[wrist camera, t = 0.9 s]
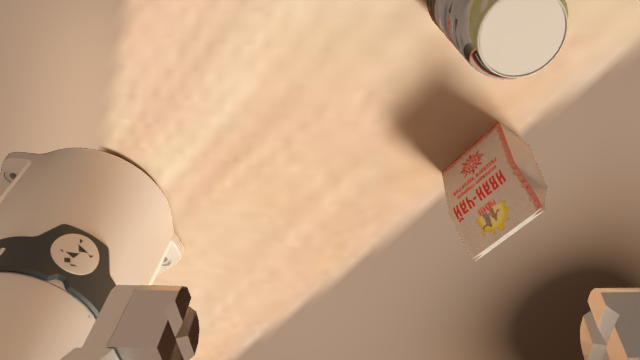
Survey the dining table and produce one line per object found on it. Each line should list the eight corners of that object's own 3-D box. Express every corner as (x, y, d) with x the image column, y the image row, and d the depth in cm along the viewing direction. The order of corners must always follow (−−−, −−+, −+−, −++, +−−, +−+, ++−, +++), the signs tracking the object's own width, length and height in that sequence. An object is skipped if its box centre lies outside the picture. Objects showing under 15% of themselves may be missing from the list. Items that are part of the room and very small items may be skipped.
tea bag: (529, 145, 47) (562, 221, 39) (471, 193, 51) (490, 272, 43) (499, 121, 46) (526, 195, 38) (441, 172, 50) (455, 249, 42)
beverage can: (407, -3, 41) (419, 67, 31) (479, -92, 37) (518, -44, 27) (471, 45, 43) (501, 126, 33) (545, -36, 39) (604, 28, 29)
